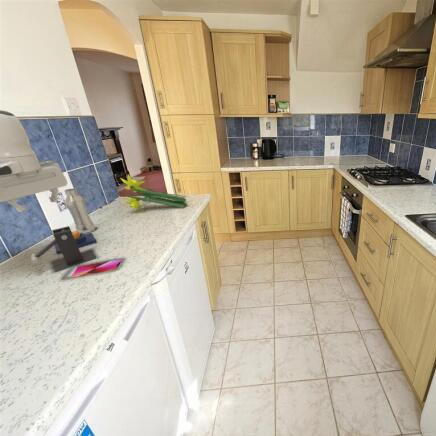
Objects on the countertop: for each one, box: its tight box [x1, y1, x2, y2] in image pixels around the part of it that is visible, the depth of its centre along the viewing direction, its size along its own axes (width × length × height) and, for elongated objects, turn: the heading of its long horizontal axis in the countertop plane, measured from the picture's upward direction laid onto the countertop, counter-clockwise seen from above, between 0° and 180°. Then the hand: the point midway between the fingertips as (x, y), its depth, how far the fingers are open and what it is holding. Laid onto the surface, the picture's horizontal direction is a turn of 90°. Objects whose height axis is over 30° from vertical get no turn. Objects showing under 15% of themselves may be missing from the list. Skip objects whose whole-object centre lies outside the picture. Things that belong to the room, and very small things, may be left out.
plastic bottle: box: [64, 188, 96, 234], centre depth 104 cm, size 6×7×20 cm
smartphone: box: [69, 258, 124, 279], centre depth 81 cm, size 7×1×15 cm
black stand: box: [52, 225, 97, 273], centre depth 83 cm, size 11×9×13 cm
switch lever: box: [31, 229, 66, 264], centre depth 80 cm, size 12×5×2 cm
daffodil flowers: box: [119, 174, 187, 209], centre depth 132 cm, size 17×15×35 cm
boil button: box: [71, 230, 81, 239], centre depth 95 cm, size 4×4×2 cm
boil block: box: [54, 232, 98, 255], centre depth 96 cm, size 12×10×4 cm
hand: (39, 206), depth 82 cm, fingers open, 8 cm apart
